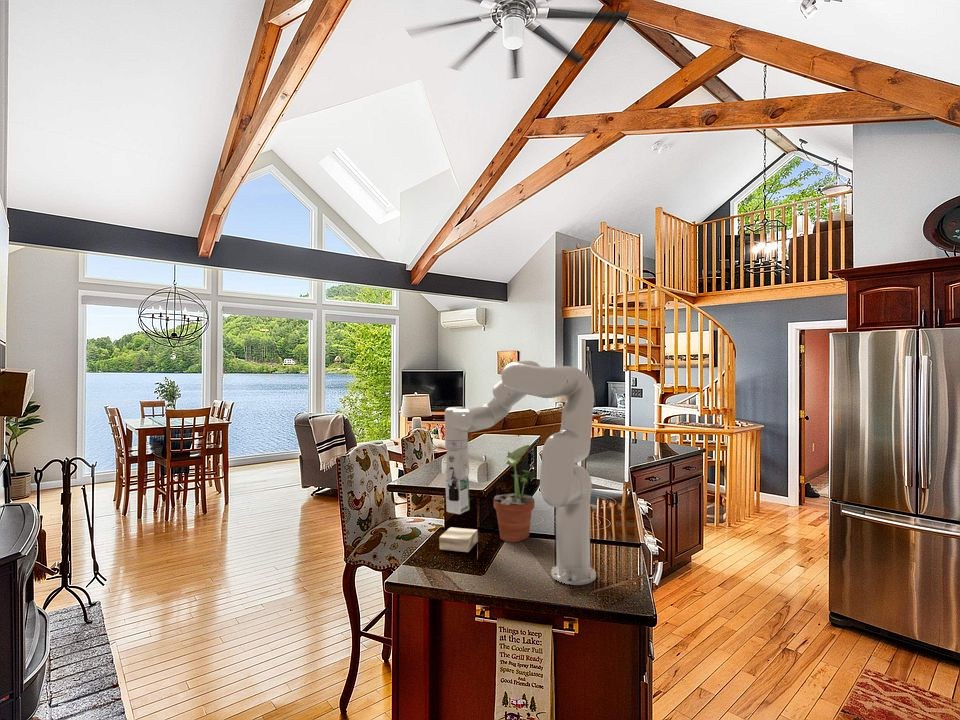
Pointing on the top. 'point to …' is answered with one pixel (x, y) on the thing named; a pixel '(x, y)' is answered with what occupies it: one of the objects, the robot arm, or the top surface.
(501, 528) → the potted plant
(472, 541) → the birch block
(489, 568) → the top surface
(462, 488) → the syrup box
